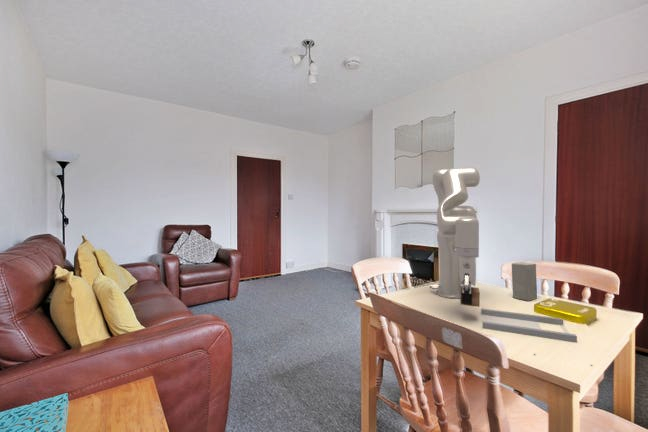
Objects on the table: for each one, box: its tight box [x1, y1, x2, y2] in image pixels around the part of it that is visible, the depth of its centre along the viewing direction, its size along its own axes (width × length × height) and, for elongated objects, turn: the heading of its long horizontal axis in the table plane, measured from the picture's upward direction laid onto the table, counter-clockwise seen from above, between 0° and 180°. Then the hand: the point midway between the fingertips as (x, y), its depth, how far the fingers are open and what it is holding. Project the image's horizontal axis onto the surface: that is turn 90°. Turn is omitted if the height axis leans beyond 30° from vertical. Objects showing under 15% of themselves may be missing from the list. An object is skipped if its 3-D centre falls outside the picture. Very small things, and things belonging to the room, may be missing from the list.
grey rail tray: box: [480, 307, 578, 343], centre depth 95 cm, size 24×15×3 cm, turn 63°
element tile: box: [533, 297, 598, 326], centre depth 105 cm, size 15×15×5 cm
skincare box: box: [511, 261, 538, 302], centre depth 127 cm, size 8×7×16 cm
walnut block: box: [459, 286, 481, 308], centre depth 103 cm, size 6×6×5 cm
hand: (466, 300), depth 103 cm, fingers closed on walnut block, 6 cm apart
